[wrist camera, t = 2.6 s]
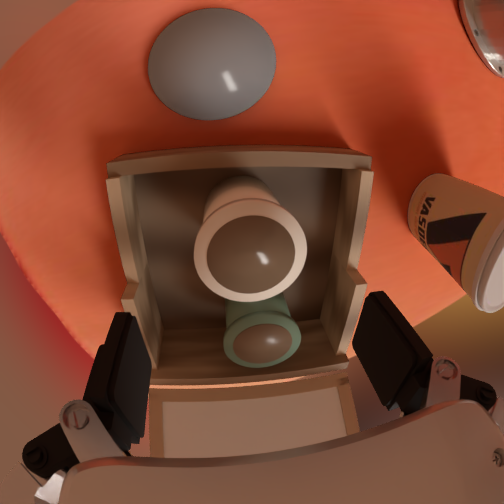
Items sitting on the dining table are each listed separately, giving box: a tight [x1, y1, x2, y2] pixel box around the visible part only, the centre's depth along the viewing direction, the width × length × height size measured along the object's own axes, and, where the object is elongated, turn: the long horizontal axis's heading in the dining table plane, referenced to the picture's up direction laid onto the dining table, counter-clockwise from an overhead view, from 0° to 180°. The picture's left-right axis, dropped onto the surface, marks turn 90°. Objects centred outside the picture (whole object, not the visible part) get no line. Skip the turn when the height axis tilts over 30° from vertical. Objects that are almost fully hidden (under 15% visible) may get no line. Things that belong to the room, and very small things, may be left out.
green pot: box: [223, 291, 301, 368], centre depth 22 cm, size 6×6×6 cm
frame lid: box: [149, 372, 360, 458], centre depth 16 cm, size 19×18×1 cm
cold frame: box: [106, 145, 374, 385], centre depth 21 cm, size 18×18×7 cm
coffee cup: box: [408, 173, 504, 313], centre depth 19 cm, size 9×9×12 cm
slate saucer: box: [148, 8, 276, 120], centre depth 16 cm, size 9×9×1 cm
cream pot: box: [194, 176, 307, 302], centre depth 18 cm, size 6×6×7 cm
